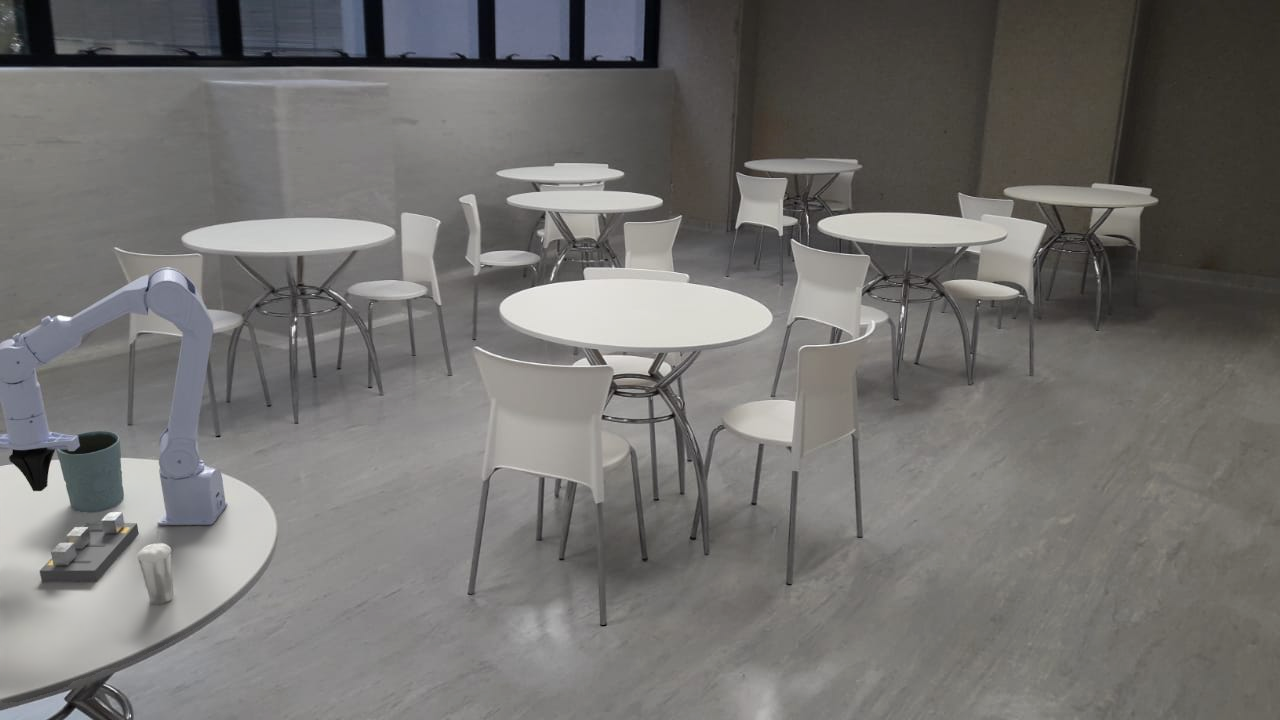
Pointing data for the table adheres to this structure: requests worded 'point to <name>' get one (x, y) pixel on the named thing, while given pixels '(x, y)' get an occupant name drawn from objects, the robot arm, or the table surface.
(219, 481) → the robot arm
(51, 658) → the table surface
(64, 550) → the knob
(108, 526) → the knob
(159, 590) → the milkshake
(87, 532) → the knob
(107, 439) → the teal plant pot
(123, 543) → the switch panel
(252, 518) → the table surface
